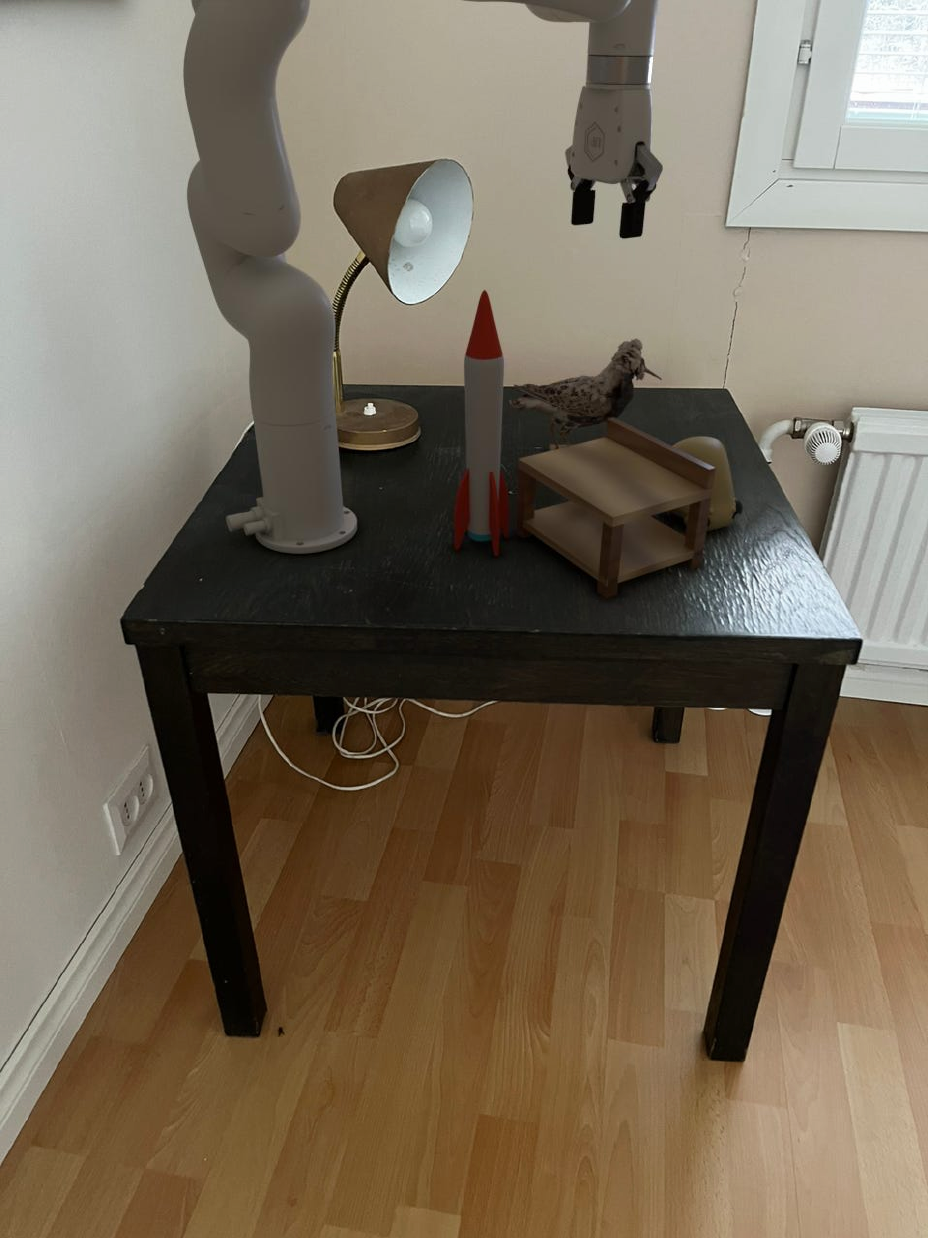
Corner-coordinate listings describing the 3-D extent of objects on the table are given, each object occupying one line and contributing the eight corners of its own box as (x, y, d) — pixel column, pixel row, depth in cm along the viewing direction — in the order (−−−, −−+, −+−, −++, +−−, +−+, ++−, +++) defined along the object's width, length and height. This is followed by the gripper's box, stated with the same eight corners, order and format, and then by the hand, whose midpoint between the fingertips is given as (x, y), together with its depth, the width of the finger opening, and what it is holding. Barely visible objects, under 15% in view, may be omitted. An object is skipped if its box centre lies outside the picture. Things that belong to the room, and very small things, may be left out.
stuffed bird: (657, 466, 135) (671, 346, 126) (524, 483, 130) (528, 359, 121) (628, 440, 143) (639, 325, 134) (501, 455, 138) (504, 337, 129)
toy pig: (661, 549, 122) (703, 526, 112) (632, 462, 123) (671, 431, 113) (725, 533, 125) (771, 509, 115) (696, 448, 126) (740, 416, 116)
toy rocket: (497, 557, 113) (504, 299, 96) (453, 550, 114) (452, 294, 98) (510, 536, 117) (518, 286, 101) (467, 529, 119) (468, 282, 102)
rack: (605, 598, 105) (614, 496, 98) (515, 533, 118) (518, 439, 111) (701, 566, 111) (716, 467, 104) (605, 507, 124) (613, 416, 117)
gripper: (548, 70, 115) (541, 222, 124) (642, 78, 103) (626, 245, 112) (598, 69, 118) (587, 217, 127) (694, 76, 106) (674, 239, 115)
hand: (605, 230), depth 120 cm, fingers open, 9 cm apart
